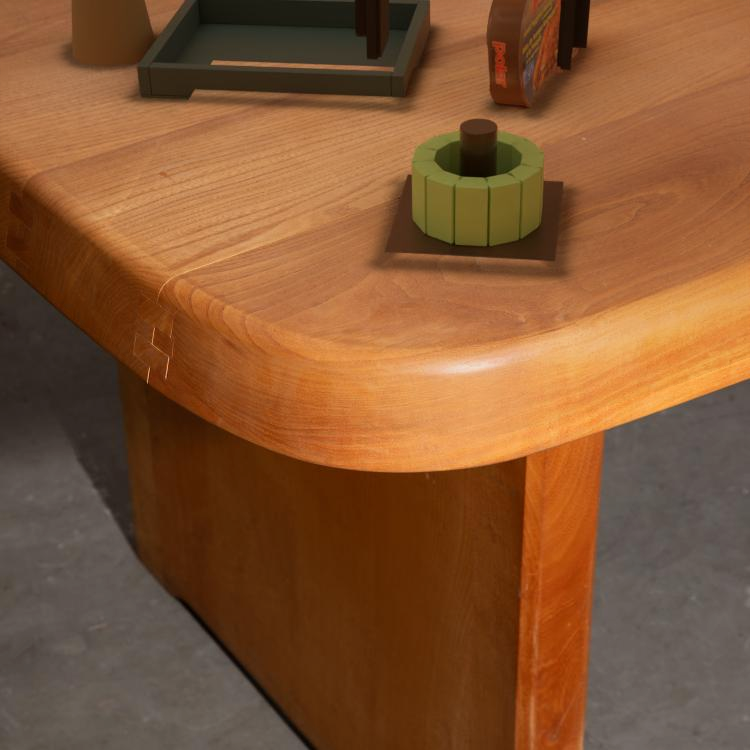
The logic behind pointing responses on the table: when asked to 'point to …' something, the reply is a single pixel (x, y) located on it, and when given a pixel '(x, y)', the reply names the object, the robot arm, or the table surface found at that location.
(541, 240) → the stand
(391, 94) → the tray
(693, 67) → the table surface
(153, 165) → the table surface
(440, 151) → the ring
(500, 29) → the tin
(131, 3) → the cork
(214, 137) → the table surface
